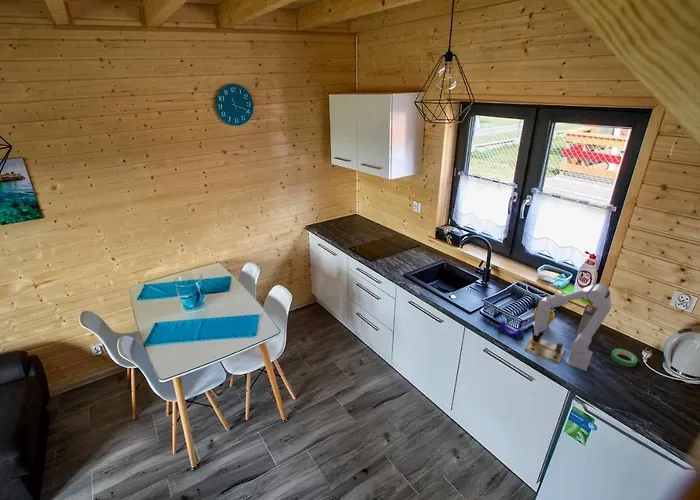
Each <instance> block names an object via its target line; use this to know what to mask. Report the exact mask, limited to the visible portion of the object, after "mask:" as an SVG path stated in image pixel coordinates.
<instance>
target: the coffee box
mask: <svg viewBox="0 0 700 500" xmlns="http://www.w3.org/2000/svg"><path fill="white" fill-rule="evenodd" d="M596 311H597V307H596V306H594V305H590V304H586V305H585V308H584V310H583V311H582V316H581V320H580V321H579V322H580V323H579V325H578V327H577V328H578V329H577V331H576V336H578V335H579V334H580V333H582V332H583V331H584V329H585V328H586V326H587V324H588V323H589V321H590V320H591V318H592V317H593V315H594V314H595V312H596Z"/></svg>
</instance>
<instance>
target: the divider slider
mask: <svg viewBox="0 0 700 500" xmlns="http://www.w3.org/2000/svg"><path fill="white" fill-rule="evenodd" d="M541 340H543V335H542V336H541V337H540V339H539V341H538V342H534V341H533V336H532V341H531V342H532V343H534V345H533V347H532V349H534V346H535V344H538V345H539V344H540V342H541Z"/></svg>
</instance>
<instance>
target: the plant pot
mask: <svg viewBox="0 0 700 500" xmlns="http://www.w3.org/2000/svg"><path fill="white" fill-rule="evenodd" d="M538 308H539V307H538V306H537V307H535V309H534V312H533V316H534V320H535V319H536V315H537V311H538ZM554 318H555V312H554V311H553V310H552V309H551V310H550V315H549V318H548V322H547V326H546V327H547V328H548V327H549V325H550V323H551V322H552V321H553V320H554Z"/></svg>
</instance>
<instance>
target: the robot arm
mask: <svg viewBox="0 0 700 500" xmlns="http://www.w3.org/2000/svg"><path fill="white" fill-rule="evenodd" d="M582 298H583V299H584V300H586V301H590V303H592V304H593V306H594V307H596V308H597V311H596V312H595V314H594V315H593V317H592V318H591V320H590V321H589V323H588V324H587V326H586V328H585V329H584V331H583V332H582V333H580V334H579V335H578V336H577V335H576V336H577V337H576V338H575V340H574V341H573V342H572V343H571V344H572V345H571V348H570V351H569V354H568V355H567V358H566V360H565V364H567V365H569V366H572V367H575V368H577V369H580V370H583V371H585V372H587V370H588V368H589V366H590V364H591V360H592V359H591V358H592V355H593V351H591V350H589V346H590V344H591V343H592V341H593V339H592V338H593V336H594V335H595V334H596V332H597V330H598V329H599V328H600V326H601V324H603V322H604V320H605V319H606V317H607V316H608V314H609V312H610V311H611V310H612V300H611V291H610V289H609V288H608V286H607V285H605V284H603V283H596V284H595V285H594V284H592V285H588V286H586V287H583V288H580V289H577V290H574V291H571V292H568V293H566V294H564V293H561V292H560V293H559V292H557V293H555V294H554V295H551V296H549V295H548V296H544V297H542V298H541V300H539V302H538V303H537V307H539V308H538V311H537V315H536V319H535V318H534V321H532V322H531V325H532V326H533V328H532V329H531V333H532V337H533V341H534V342H538V341H539V339H540V337H541V336H542V337H543V335H545V334H544V332H545V331H546V330H547V328H548V327H546V326H547V322H548V318H549V315H550V310H552V309H551V308H553V309H554V308H557V307H560V306H564V305H567V303H568V302H569V301H573V300H578V299H582Z"/></svg>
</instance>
